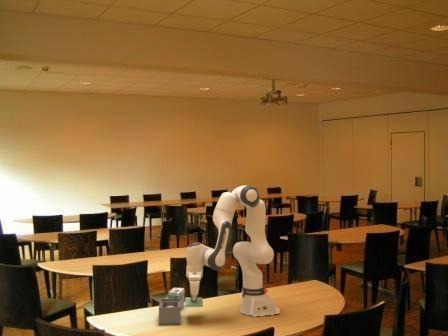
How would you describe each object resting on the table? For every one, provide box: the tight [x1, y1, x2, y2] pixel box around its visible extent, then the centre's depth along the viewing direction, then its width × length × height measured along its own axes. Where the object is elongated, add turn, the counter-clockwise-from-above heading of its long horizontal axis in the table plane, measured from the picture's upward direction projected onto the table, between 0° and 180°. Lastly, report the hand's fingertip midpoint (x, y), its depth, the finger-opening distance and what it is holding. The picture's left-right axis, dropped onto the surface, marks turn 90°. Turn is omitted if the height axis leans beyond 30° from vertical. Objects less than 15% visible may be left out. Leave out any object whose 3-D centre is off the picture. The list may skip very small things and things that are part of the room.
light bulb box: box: [167, 287, 185, 310], centre depth 262 cm, size 11×7×11 cm, turn 168°
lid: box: [184, 294, 204, 308], centre depth 243 cm, size 9×13×5 cm
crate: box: [158, 298, 182, 326], centre depth 243 cm, size 11×15×9 cm
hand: (194, 299), depth 243 cm, fingers closed on lid, 3 cm apart
